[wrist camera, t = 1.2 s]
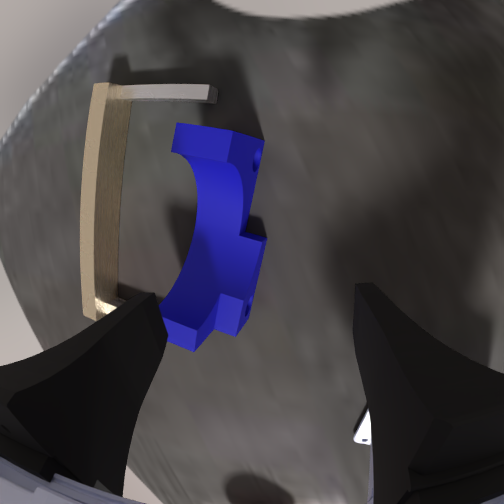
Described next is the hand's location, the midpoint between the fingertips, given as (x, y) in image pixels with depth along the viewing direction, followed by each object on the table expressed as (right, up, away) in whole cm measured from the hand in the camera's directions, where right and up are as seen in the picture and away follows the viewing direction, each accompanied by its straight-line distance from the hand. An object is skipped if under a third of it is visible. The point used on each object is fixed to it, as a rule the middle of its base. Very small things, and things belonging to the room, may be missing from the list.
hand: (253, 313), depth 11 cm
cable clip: (-1, +4, +11) cm, 11 cm away
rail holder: (-7, +5, +12) cm, 15 cm away
